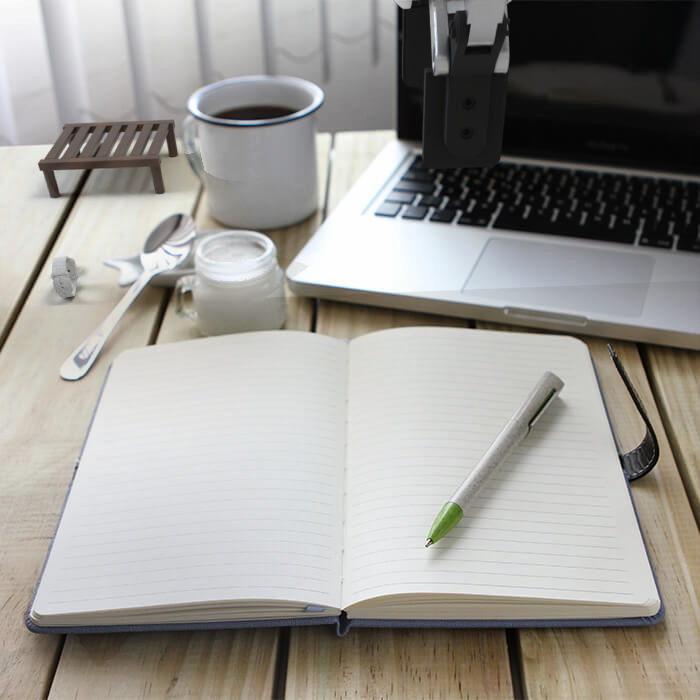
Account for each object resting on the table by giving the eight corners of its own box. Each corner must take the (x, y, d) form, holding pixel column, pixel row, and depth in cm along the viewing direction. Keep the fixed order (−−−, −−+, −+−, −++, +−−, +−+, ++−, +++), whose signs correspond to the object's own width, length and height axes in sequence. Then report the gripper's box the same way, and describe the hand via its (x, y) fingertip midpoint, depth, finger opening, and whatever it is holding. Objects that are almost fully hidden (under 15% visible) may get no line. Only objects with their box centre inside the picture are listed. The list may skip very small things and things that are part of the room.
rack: (47, 198, 94) (37, 163, 91) (73, 156, 103) (64, 123, 100) (164, 194, 94) (158, 158, 91) (179, 152, 103) (174, 119, 100)
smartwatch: (78, 303, 76) (68, 267, 73) (55, 306, 75) (44, 270, 73) (81, 283, 78) (72, 248, 76) (59, 286, 78) (49, 251, 76)
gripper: (348, -349, 33) (357, 64, 43) (370, -413, 19) (376, 211, 30) (526, -355, 33) (492, 58, 44) (673, -424, 19) (573, 203, 30)
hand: (445, 120), depth 37 cm, fingers open, 9 cm apart
